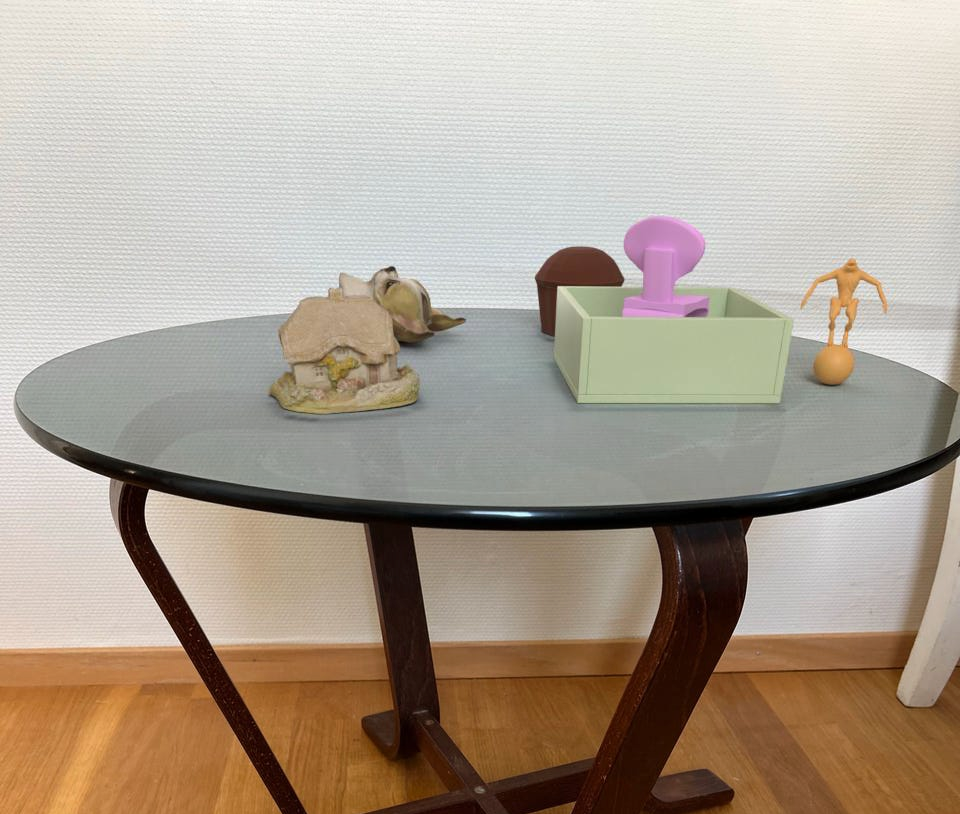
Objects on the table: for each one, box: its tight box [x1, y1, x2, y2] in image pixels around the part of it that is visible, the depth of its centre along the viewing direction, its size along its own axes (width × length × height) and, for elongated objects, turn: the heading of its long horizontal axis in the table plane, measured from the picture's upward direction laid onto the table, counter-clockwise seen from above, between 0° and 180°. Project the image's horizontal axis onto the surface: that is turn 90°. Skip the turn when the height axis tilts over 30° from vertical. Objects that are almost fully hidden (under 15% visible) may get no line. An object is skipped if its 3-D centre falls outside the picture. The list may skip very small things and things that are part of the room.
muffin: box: [534, 245, 626, 337], centre depth 118 cm, size 12×11×10 cm
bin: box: [553, 286, 795, 405], centre depth 96 cm, size 20×20×8 cm
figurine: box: [800, 257, 888, 386], centre depth 95 cm, size 8×6×12 cm
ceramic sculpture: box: [338, 265, 467, 343], centre depth 112 cm, size 11×9×15 cm
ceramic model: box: [268, 286, 421, 415], centre depth 87 cm, size 14×11×10 cm
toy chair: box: [622, 215, 709, 317], centre depth 93 cm, size 8×9×15 cm
